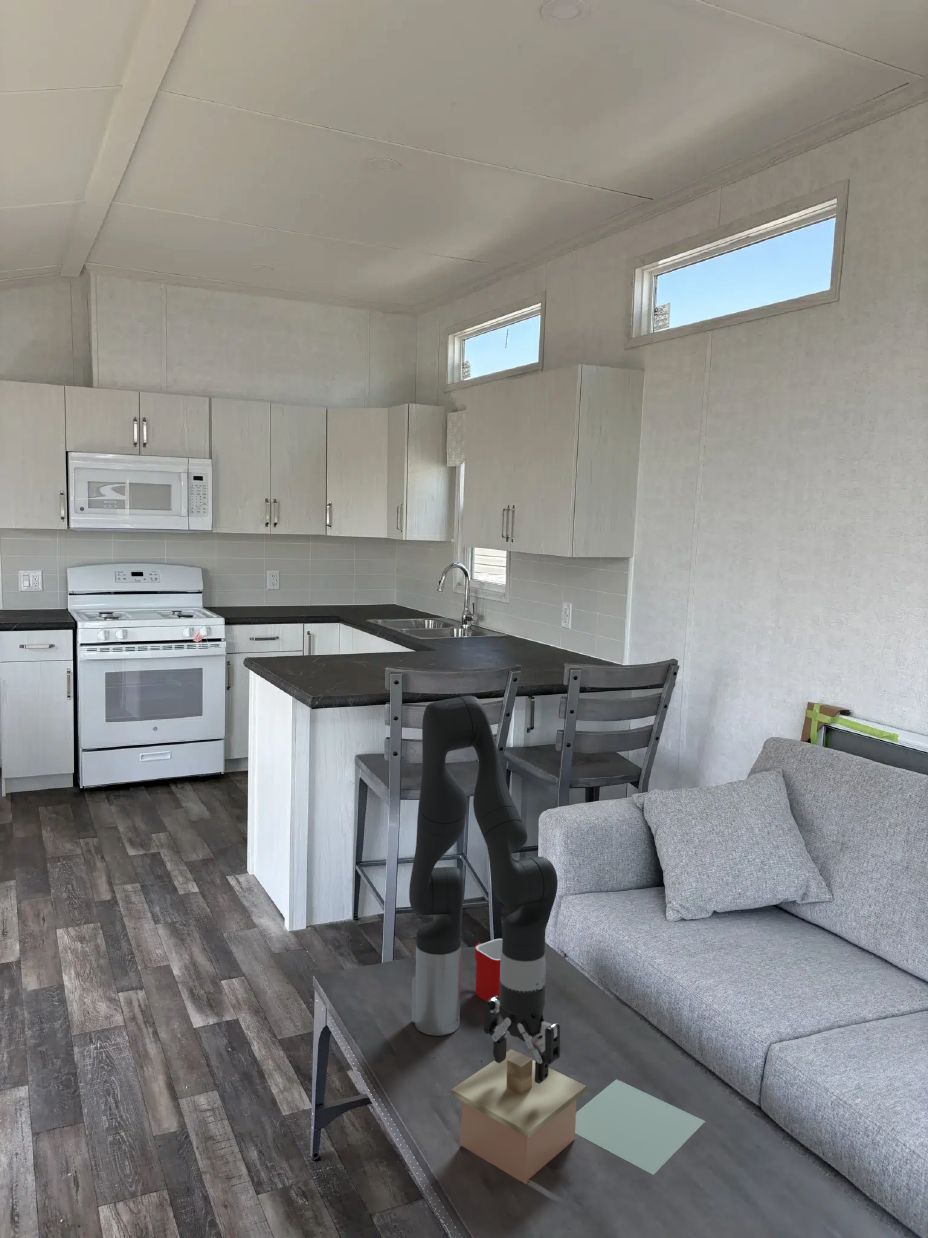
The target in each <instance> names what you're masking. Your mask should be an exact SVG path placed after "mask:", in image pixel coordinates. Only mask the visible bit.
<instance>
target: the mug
mask: <svg viewBox="0 0 928 1238" xmlns="http://www.w3.org/2000/svg"><path fill="white" fill-rule="evenodd" d="M474 946H475V947H474V958H475V964H476V965H475V995H476V996H477V997H478V998H480V999H481V1000H483V1001H484V1002H486V1001H487V1000H489V999H490V998H492V997H494V996H495V995H497V996H498V997H499V993H500V962H501V956H502V938H496V939H491V940H489V941H486V942H484V943H479V942H478V943H476V944H475V945H474Z"/></svg>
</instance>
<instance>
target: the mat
mask: <svg viewBox="0 0 928 1238" xmlns="http://www.w3.org/2000/svg"><path fill="white" fill-rule="evenodd" d="M705 1122H706V1120H704V1119H702V1118H700V1117H697V1116H695V1115H693V1114H691V1113H689V1112H687V1111H684V1110H682V1109H680V1108H678V1107H676V1106H674V1105H672V1104H670V1103H668V1102H666V1101H663V1100H661V1099H659V1098H657V1097H655V1096H653V1095H651V1094H649V1093H647V1092H644V1091H642V1090H640V1089H638V1088H636V1087H634V1086H631V1085H630V1084H627V1083H625V1082H623V1081H621V1080H619V1079H615V1080H613V1081H612V1082H611V1083H610V1084H609V1085H607V1086H606V1087H604V1089H602V1091H601V1092H599V1093H597V1095H595V1096H594V1097H593V1098H592V1099H591V1100H590V1101H588V1102H587V1103H586V1104H585V1105H584V1106H582V1107H581V1108H580V1109H579V1110H576V1125H575V1135H577V1136H579V1137H581V1138H582V1139H584V1140H586V1141H588V1142H590V1143H592V1144H594V1145H595V1146H598V1147H600V1148H601V1149H604V1150H605V1151H607V1152H608V1153H611V1154H613V1155H615V1156H616V1157H618V1158H620V1159H622V1160H624V1161H626V1162H627V1163H629V1164H632V1165H633V1166H635V1167H636V1168H639V1169H641V1170H643V1171H645V1172H646V1173H648V1174H651V1175H652V1176H654V1175H655V1174H656V1173H657V1172H658V1171H659V1170H660V1169H661V1168H662V1167H663V1166H664V1165H665V1164H666V1163H667V1162H668V1161H669V1160H670V1159H671V1157H673V1156H674V1154H676V1153H677V1152H678V1150H679V1149H680V1148H681V1147H682V1146H683V1145H684V1144H685V1143H686V1142H687V1141H688V1140H689V1139H690V1138H691V1137H692V1136H693V1135H694V1134H695V1133H696V1132H698V1130H699V1129H700V1128H701V1126H703V1125H704V1124H705Z"/></svg>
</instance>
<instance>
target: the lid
mask: <svg viewBox="0 0 928 1238" xmlns="http://www.w3.org/2000/svg"><path fill="white" fill-rule="evenodd" d="M536 1061H537V1060H534V1059H533V1058H531V1057H529V1056H527V1055H525V1054H523V1053H521V1052H519V1051H516V1050H513V1049H512V1048H511V1049H509V1050H508V1051H506V1059H505V1060H504V1061H502V1062H501V1063H497V1062H495V1059H494V1060H493V1061H491V1062H490V1063H488V1064H487V1065H486V1066H484V1067H483V1068H481V1069H479V1070H478V1071H477V1072H475V1073H473V1074H472V1075H471V1076H469V1077H467V1078H466V1079H464V1080H463V1081H461V1082H460V1083H459V1084H458V1085H456V1086H454V1087H453V1088H451V1090H450V1095H451V1096H452V1097H454V1098H456V1099H457V1100H458V1101H460V1102H462V1101H463V1102H464V1103H466V1104H468V1105H470V1106H472V1107H473V1108H475V1109H477V1110H479V1111H481V1112H482V1113H484V1114H486V1115H488V1116H489V1117H491V1118H493V1119H495V1120H497V1121H498V1122H500V1123H502V1124H504V1125H505V1126H507V1127H509V1128H511V1129H513V1130H514V1131H516V1132H518V1133H520V1134H522V1135H523V1136H525V1137H527V1138H529V1137H531V1136H532V1135H533V1134H534V1133H536V1132H537V1131H538V1130H539V1129H541V1128H542V1127H543V1126H544V1125H545V1124H547V1123H548V1122H549V1121H550V1120H552V1119H553V1118H554V1117H555V1116H557V1115H558V1114H559V1113H560V1112H561V1111H563V1110H564V1109H565V1108H566V1107H568V1106H569V1105H570V1104H571V1103H573V1102H574V1101H575V1100H576V1101H577V1100H578V1099H579V1098H580V1097H582V1095H584V1094H585V1093H587V1085H585V1084H583V1083H581V1082H579V1081H577V1080H575V1079H573V1078H571V1077H568V1076H567V1075H565V1074H562V1073H561V1072H558V1071H557V1070H554V1069H552V1068H550V1067H548V1077H547V1078H546V1079H545V1080H544V1081H543V1082H541V1083H540V1084H538V1083H536V1082H535V1062H536Z"/></svg>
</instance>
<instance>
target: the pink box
mask: <svg viewBox="0 0 928 1238" xmlns="http://www.w3.org/2000/svg"><path fill="white" fill-rule="evenodd" d="M576 1112H577V1099H576V1100H575V1101H574V1102H573V1103H571V1104H570V1105H569V1106H568V1107H566V1108H565V1109H564V1110H563V1111H561V1112H560V1113H559V1114H558V1115H557V1116H555V1117H554V1118H553V1119H552V1120H550V1121H549V1122H548V1123H547V1124H545V1125H544V1126H543V1127H542V1128H541V1129H539V1130H538V1131H537V1132H536V1133H534V1134H533V1135H532V1136H531V1137H529V1138H527V1137H525V1136H523V1135H522V1134H520V1133H518V1132H516V1131H514V1130H513V1129H511V1128H509V1127H507V1126H505V1125H504V1124H502V1123H500V1122H498V1121H497V1120H495V1119H493V1118H491V1117H489V1116H488V1115H486V1114H484V1113H482V1112H481V1111H479V1110H477V1109H475V1108H473V1107H472V1106H470V1105H468V1104H466V1103H464V1102H463V1101H461V1125H460V1126H461V1127H460V1128H461V1131H460V1132H461V1133H460V1135H461V1136H460V1146H461V1147H463V1148H465V1149H466V1150H468V1151H470V1152H471V1153H473V1154H474V1155H476V1156H478V1157H479V1158H480V1159H483V1160H485V1161H486V1162H488V1163H489V1164H491V1165H493V1166H495V1167H496V1168H498V1169H499V1170H501V1171H502V1172H505V1173H506V1174H508V1175H509V1176H511V1177H513V1178H514V1179H516V1180H518V1181H519V1182H520V1183H521V1182H522V1183H523V1184H524V1185H528V1183H530V1182H531V1181H532V1179H531V1178H532V1177H533V1176H534V1175H535V1174H537V1172H539V1171H540V1170H541V1169H542V1168H543V1167H545V1165H547V1164H548V1163H549V1162H551V1161H552V1160H553V1159H554V1158H556V1156H557V1155H558V1154H560V1152H562V1151H563V1150H564V1149H566V1147H568V1146H569V1145H570V1144H571V1143H572V1142H573V1141H574V1140H576V1134H575V1125H576Z"/></svg>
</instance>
